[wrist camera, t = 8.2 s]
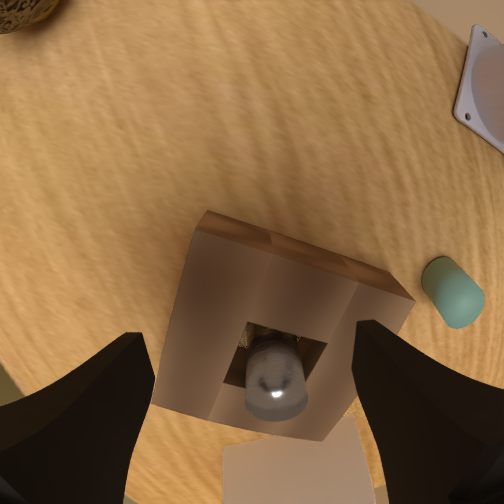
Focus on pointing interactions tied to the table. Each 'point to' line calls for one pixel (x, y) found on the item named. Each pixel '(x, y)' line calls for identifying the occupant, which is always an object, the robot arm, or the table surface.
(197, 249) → the hole block
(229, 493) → the milk
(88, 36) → the table surface
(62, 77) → the table surface
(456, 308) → the short pin
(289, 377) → the tall pin
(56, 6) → the cup
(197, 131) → the table surface
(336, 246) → the table surface
